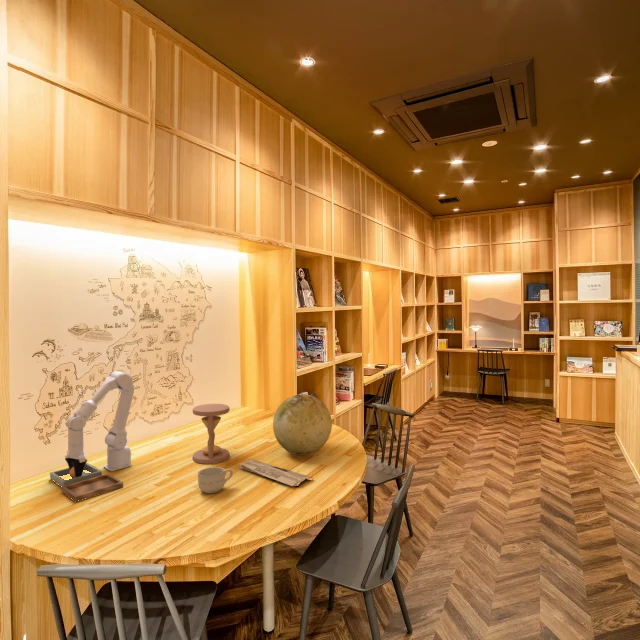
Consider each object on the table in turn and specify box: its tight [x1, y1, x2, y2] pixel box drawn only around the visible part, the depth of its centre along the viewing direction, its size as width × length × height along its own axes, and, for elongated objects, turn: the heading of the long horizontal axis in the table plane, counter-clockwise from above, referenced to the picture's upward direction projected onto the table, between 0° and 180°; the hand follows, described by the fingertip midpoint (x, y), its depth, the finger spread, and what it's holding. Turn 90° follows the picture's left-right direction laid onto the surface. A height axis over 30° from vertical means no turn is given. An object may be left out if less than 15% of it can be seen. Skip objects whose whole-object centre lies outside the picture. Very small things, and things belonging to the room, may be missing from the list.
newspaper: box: [238, 459, 313, 487], centre depth 185 cm, size 35×12×4 cm, turn 54°
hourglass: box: [192, 403, 230, 465], centre depth 205 cm, size 18×18×25 cm
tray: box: [61, 473, 124, 502], centre depth 169 cm, size 18×14×2 cm
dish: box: [49, 462, 103, 487], centre depth 179 cm, size 15×15×3 cm
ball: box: [69, 467, 76, 478], centre depth 179 cm, size 5×5×5 cm
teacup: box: [197, 466, 234, 494], centre depth 169 cm, size 14×11×8 cm
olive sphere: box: [272, 393, 333, 456], centre depth 212 cm, size 30×30×30 cm
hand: (76, 474), depth 179 cm, fingers closed on ball, 5 cm apart
